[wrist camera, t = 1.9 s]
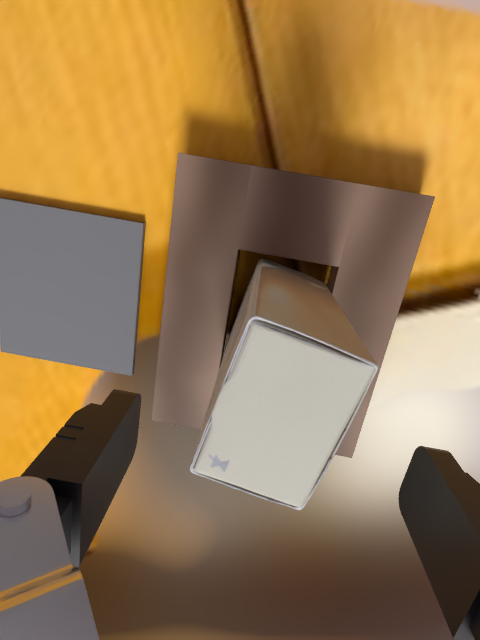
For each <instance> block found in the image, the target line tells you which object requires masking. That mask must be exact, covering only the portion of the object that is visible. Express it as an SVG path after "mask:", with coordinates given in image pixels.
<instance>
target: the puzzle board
mask: <svg viewBox="0 0 480 640" xmlns="http://www.w3.org/2000/svg"><path fill="white" fill-rule="evenodd" d="M434 198H435V197H434V196H428V195H422V194H416V193H411V192H405V191H399V190H393V189H387V188H381V187H376V186H370V185H364V184H358V183H352V182H346V181H341V180H335V179H329V178H323V177H317V176H311V175H306V174H300V173H294V172H288V171H282V170H276V169H270V168H265V167H259V166H253V165H247V164H241V163H235V162H230V161H224V160H218V159H212V158H206V157H200V156H195V155H189V154H183V153H178V160H177V170H176V180H175V190H174V200H173V210H172V220H171V230H170V240H169V250H168V260H167V271H166V281H165V291H164V301H163V311H162V321H161V331H160V341H159V351H158V362H157V371H156V382H155V391H154V402H153V412H152V420H153V421H158V422H163V423H169V424H174V425H179V426H185V427H190V428H195V429H201V428H202V425H203V422H204V418H205V415H206V411H207V408H208V405H209V402H210V399H211V395H212V392H213V389H214V385H215V382H216V379H217V375H218V372H219V369H220V366H221V362H222V358H223V352H224V346H225V339H226V333H227V327H228V321H229V315H230V308H231V302H232V296H233V290H234V284H235V278H236V271H237V265H238V259H239V253H240V250H245V251H251V252H257V253H262V254H268V255H274V256H279V257H285V258H291V259H296V260H302V261H308V262H313V263H319V264H325V265H330V266H332V268H331V272H330V276H329V281H328V285H327V287H328V289H329V291H330V292H331V294H332V295H333V297H334V299H335V300H336V302H337V303H338V304H339V306H340V308H341V309H342V311H343V312H344V314H345V316H346V317H347V319H348V320H349V322H350V323H351V325H352V326H353V328H354V330H355V331H356V333H357V334H358V336H359V337H360V339H361V340H362V342H363V343H364V345H365V346H366V348H367V350H368V351H369V353H370V354H371V356H372V357H373V359H374V360H375V362H376V364H377V365H378V370H377V372H376V374H375V376H374V378H373V380H372V382H371V384H370V386H369V388H368V391H367V393H366V395H365V397H364V398H363V401H362V403H361V405H360V407H359V409H358V411H357V413H356V415H355V417H354V419H353V421H352V423H351V425H350V427H349V429H348V430H347V432H346V434H345V436H344V438H343V440H342V442H341V444H340V446H339V448H338V450H337V451H336V453H335V455H340V456H345V457H350V458H352V456H353V453H354V450H355V447H356V443H357V440H358V437H359V434H360V431H361V428H362V424H363V421H364V418H365V415H366V412H367V409H368V406H369V403H370V399H371V396H372V393H373V390H374V387H375V384H376V381H377V377H378V374H379V371H380V368H381V365H382V362H383V359H384V355H385V352H386V349H387V346H388V343H389V340H390V337H391V333H392V330H393V327H394V324H395V321H396V318H397V314H398V311H399V308H400V305H401V302H402V299H403V296H404V292H405V289H406V286H407V283H408V280H409V277H410V274H411V270H412V267H413V264H414V261H415V258H416V255H417V252H418V248H419V245H420V242H421V239H422V236H423V233H424V230H425V226H426V223H427V220H428V217H429V214H430V211H431V208H432V204H433V201H434Z"/></svg>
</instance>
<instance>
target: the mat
mask: <svg viewBox="0 0 480 640" xmlns="http://www.w3.org/2000/svg"><path fill="white" fill-rule="evenodd" d="M145 224H146V223H142V222H137V221H131V220H125V219H119V218H114V217H108V216H102V215H97V214H91V213H85V212H80V211H74V210H68V209H63V208H57V207H51V206H46V205H40V204H34V203H28V202H23V201H17V200H11V199H6V198H0V345H1V352H6V353H11V354H17V355H22V356H27V357H33V358H38V359H44V360H49V361H55V362H60V363H65V364H71V365H76V366H82V367H87V368H92V369H98V370H103V371H109V372H114V373H119V374H125V375H130V376H132V375H133V374H134V365H135V353H136V340H137V327H138V314H139V301H140V288H141V276H142V263H143V250H144V237H145Z"/></svg>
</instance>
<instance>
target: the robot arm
mask: <svg viewBox="0 0 480 640" xmlns="http://www.w3.org/2000/svg"><path fill="white" fill-rule="evenodd" d="M140 406H141V395H140V394H137V393H132V392H126V391H121V390H113V391H112V392H111V393H110V395H109V396H108V397H107V399H106V400H105V401H104V403H103V404H102V405H98V404H92V403H91V404H89V405H87V406H85V407H84V408H82V409H80V410H78V411H76V412H75V413H74V414H73V415H72V416H71V418H70V419H69V420H68V421H67V422H66V423H65V426H64V427H62V428H61V429H60V431H59V432H58V433H57V434H56V437H54V438H53V439H52V440H51V441H50V442H49V443H48V445H47V446H46V447H45V448H44V449H43V450H42V452H41V453H40V454H39V455H38V456H37V458H36V459H35V460H34V461H33V462H32V463H31V465H30V466H29V467H28V468H27V469H26V470H25V472H24V473H23V474H22V475H21V476H20V477H15V478H10V479H7V480H4V481H2V482H0V640H99V637H98V634H97V630H96V626H95V622H94V619H93V615H92V611H91V607H90V603H89V600H88V596H87V592H86V588H85V585H84V581H83V578H82V575H81V572H80V570H79V569H78V568H75V569H73V566H76V567H80V565H81V563H82V560H83V558H84V556H85V554H86V552H87V550H88V548H89V546H90V544H91V542H92V540H93V538H94V536H95V534H96V532H97V530H98V528H99V526H100V524H101V522H102V520H103V518H104V516H105V514H106V512H107V510H108V508H109V505H110V503H111V502H112V499H113V498H114V495H115V493H116V491H117V489H118V487H119V485H120V483H121V481H122V479H123V477H124V475H125V473H126V471H127V469H128V467H129V464H130V463H131V461H132V458H133V456H134V452H135V449H136V445H137V438H138V428H139V417H140ZM399 507H400V511H401V514H402V516H403V519H404V521H405V523H406V526H407V528H408V531H409V533H410V535H411V538H412V540H413V543H414V545H415V547H416V550H417V552H418V555H419V557H420V559H421V562H422V564H423V567H424V569H425V571H426V574H427V576H428V579H429V581H430V583H431V586H432V588H433V591H434V593H435V596H436V598H437V600H438V603H439V605H440V608H441V610H442V612H443V615H444V617H445V620H446V622H447V624H448V627H449V629H450V631H451V634H452V636H453V638H454V639H459V640H480V484H479V483H478V482H477V481H476V480H474V479H473V478H472V477H471V476H470V475H469V474H468V473H465V472H464V471H463V470H462V469H461V467H460V466H459V464H458V463H457V461H456V460H455V459H454V457H453V456H452V454H451V453H450V452H448V451H445V450H440V449H434V448H429V447H423V446H419V447H418V448H417V449H416V450H415V452H414V454H413V457H412V459H411V462H410V464H409V467H408V469H407V472H406V474H405V477H404V480H403V482H402V485H401V488H400V491H399Z"/></svg>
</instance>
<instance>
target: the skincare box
mask: <svg viewBox="0 0 480 640" xmlns="http://www.w3.org/2000/svg"><path fill="white" fill-rule="evenodd" d="M377 370H378V365H377V364H376V362H375V360H374V359H373V357H372V356H371V354H370V353H369V351H368V350H367V348H366V346H365V345H364V343H363V342H362V340H361V339H360V337H359V336H358V334H357V333H356V331H355V330H354V328H353V326H352V325H351V323H350V322H349V320H348V319H347V317H346V316H345V314H344V312H343V311H342V309H341V308H340V306H339V304H338V303H337V302H336V300H335V299H334V297H333V295H332V294H331V292H330V291H329V289H328V287H327V286H326V284H325V283H324V282H322V281H320V280H318V279H315V278H313V277H311V276H308V275H306V274H303V273H301V272H299V271H296V270H294V269H291V268H289V267H286V266H284V265H281V264H278V263H276V262H273V261H271V260H268V259H265V258H261V259H260V260H259V261H258V263H257V265H256V268H255V270H254V272H253V275H252V277H251V280H250V282H249V285H248V287H247V290H246V292H245V295H244V297H243V300H242V302H241V305H240V308H239V310H238V313H237V316H236V319H235V321H234V324H233V327H232V330H231V333H230V336H229V339H228V342H227V345H226V349H225V352H224V355H223V359H222V362H221V366H220V369H219V372H218V375H217V379H216V382H215V385H214V389H213V392H212V395H211V399H210V402H209V405H208V408H207V411H206V415H205V418H204V422H203V425H202V428H201V432H200V435H199V439H198V442H197V445H196V449H195V452H194V456H193V459H192V462H191V466H190V471H191V472H192V473H194V474H197V475H200V476H202V477H206V478H209V479H211V480H213V481H216V482H219V483H222V484H224V485H227V486H229V487H232V488H235V489H238V490H241V491H244V492H246V493H249V494H251V495H254V496H257V497H260V498H263V499H266V500H269V501H272V502H275V503H278V504H282V505H285V506H288V507H291V508H294V509H297V510H301V509H302V508H303V507H304V506H305V505H306V503H307V501H308V500H309V498H310V497H311V495H312V494H313V492H314V490H315V489H316V487H317V485H318V484H319V482H320V480H321V479H322V477H323V475H324V473H325V472H326V470H327V468H328V466H329V464H330V462H331V461H332V459H333V457H334V455H335V453H336V451H337V450H338V448H339V446H340V444H341V442H342V440H343V438H344V436H345V434H346V432H347V430H348V429H349V427H350V425H351V423H352V421H353V419H354V417H355V415H356V413H357V411H358V409H359V407H360V405H361V403H362V401H363V398H364V397H365V395H366V393H367V391H368V388H369V386H370V384H371V382H372V380H373V378H374V376H375V374H376V372H377Z"/></svg>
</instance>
